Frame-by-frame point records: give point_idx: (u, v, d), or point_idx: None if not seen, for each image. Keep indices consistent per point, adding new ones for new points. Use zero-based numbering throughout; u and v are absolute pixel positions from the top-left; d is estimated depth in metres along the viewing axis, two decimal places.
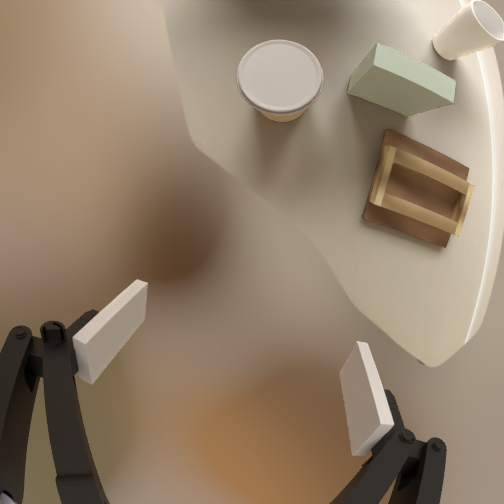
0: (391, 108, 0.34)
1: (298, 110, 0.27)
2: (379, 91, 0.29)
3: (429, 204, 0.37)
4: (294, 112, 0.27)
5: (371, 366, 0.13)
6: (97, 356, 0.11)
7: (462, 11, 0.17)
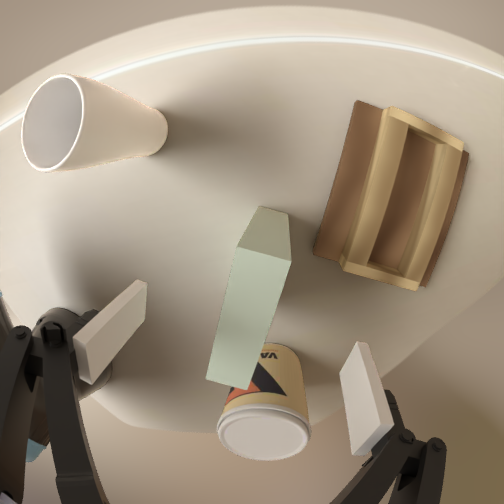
0: None
1: (307, 426, 0.23)
2: None
3: (418, 186, 0.25)
4: (309, 428, 0.23)
5: (371, 366, 0.13)
6: (97, 356, 0.11)
7: None
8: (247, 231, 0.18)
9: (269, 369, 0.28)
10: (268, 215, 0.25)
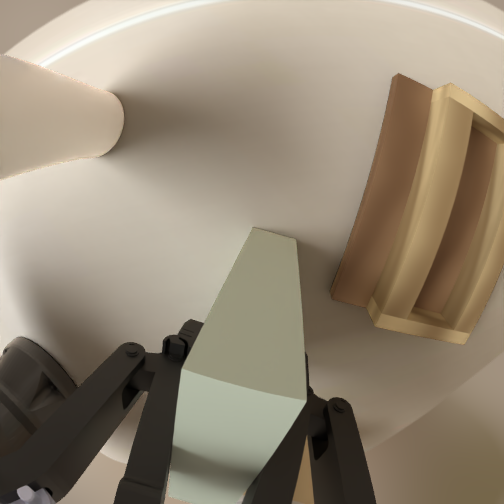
0: None
1: None
2: None
3: (476, 201, 0.15)
4: None
5: None
6: None
7: None
8: (220, 301, 0.09)
9: None
10: (265, 247, 0.16)
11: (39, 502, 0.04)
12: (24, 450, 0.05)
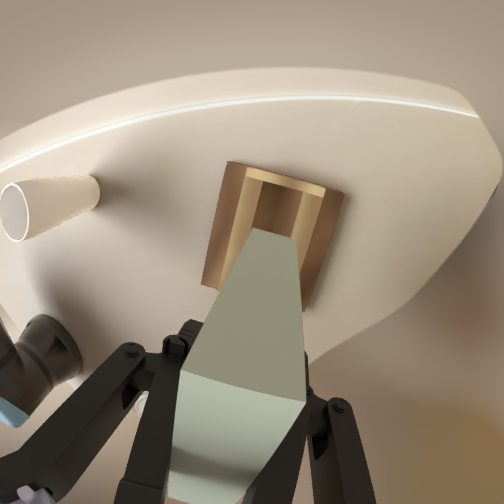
0: None
1: None
2: None
3: (285, 228, 0.34)
4: None
5: None
6: None
7: None
8: (219, 302, 0.09)
9: None
10: (265, 247, 0.16)
11: (39, 502, 0.04)
12: (24, 450, 0.05)
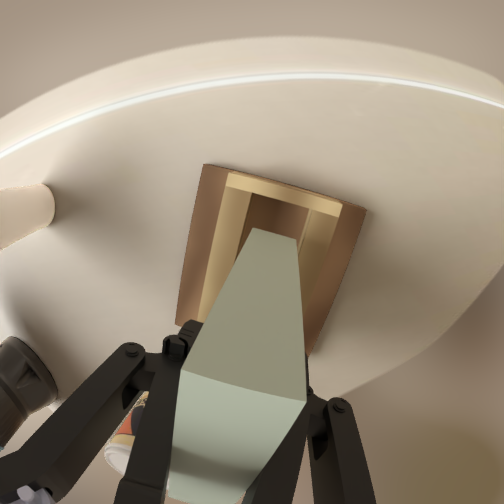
0: None
1: None
2: None
3: None
4: None
5: None
6: None
7: None
8: (219, 302, 0.09)
9: None
10: (265, 247, 0.16)
11: (39, 502, 0.04)
12: (24, 450, 0.05)
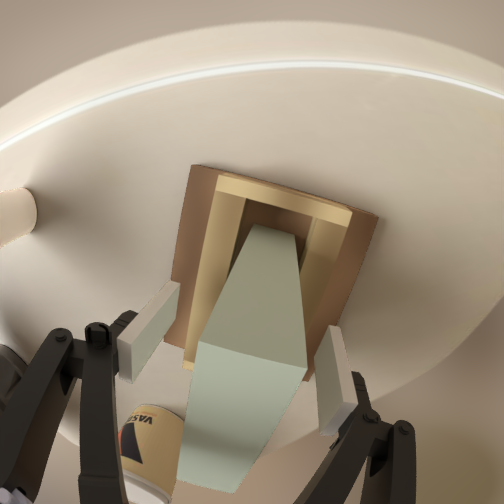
0: None
1: (160, 492, 0.20)
2: None
3: None
4: (163, 494, 0.20)
5: (340, 348, 0.15)
6: (138, 355, 0.12)
7: None
8: (228, 287, 0.10)
9: (138, 434, 0.25)
10: (266, 241, 0.17)
11: (17, 503, 0.03)
12: None
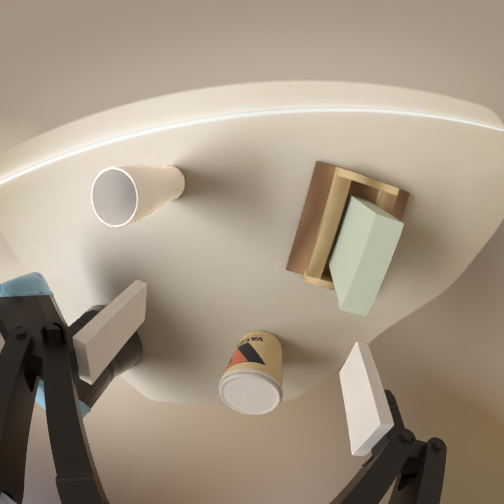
0: None
1: (279, 387, 0.36)
2: None
3: None
4: (280, 389, 0.36)
5: (371, 366, 0.13)
6: (97, 356, 0.11)
7: None
8: (368, 207, 0.27)
9: (255, 347, 0.42)
10: (362, 200, 0.33)
11: None
12: None
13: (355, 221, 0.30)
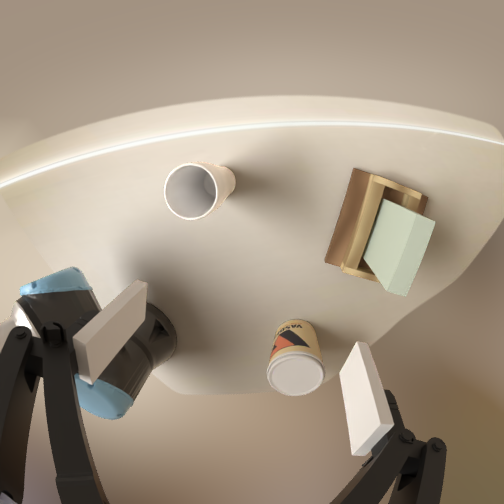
0: None
1: (323, 366, 0.41)
2: None
3: None
4: (324, 368, 0.41)
5: (371, 366, 0.13)
6: (97, 356, 0.11)
7: None
8: (406, 208, 0.32)
9: (298, 333, 0.46)
10: (394, 203, 0.38)
11: None
12: None
13: (392, 220, 0.35)
